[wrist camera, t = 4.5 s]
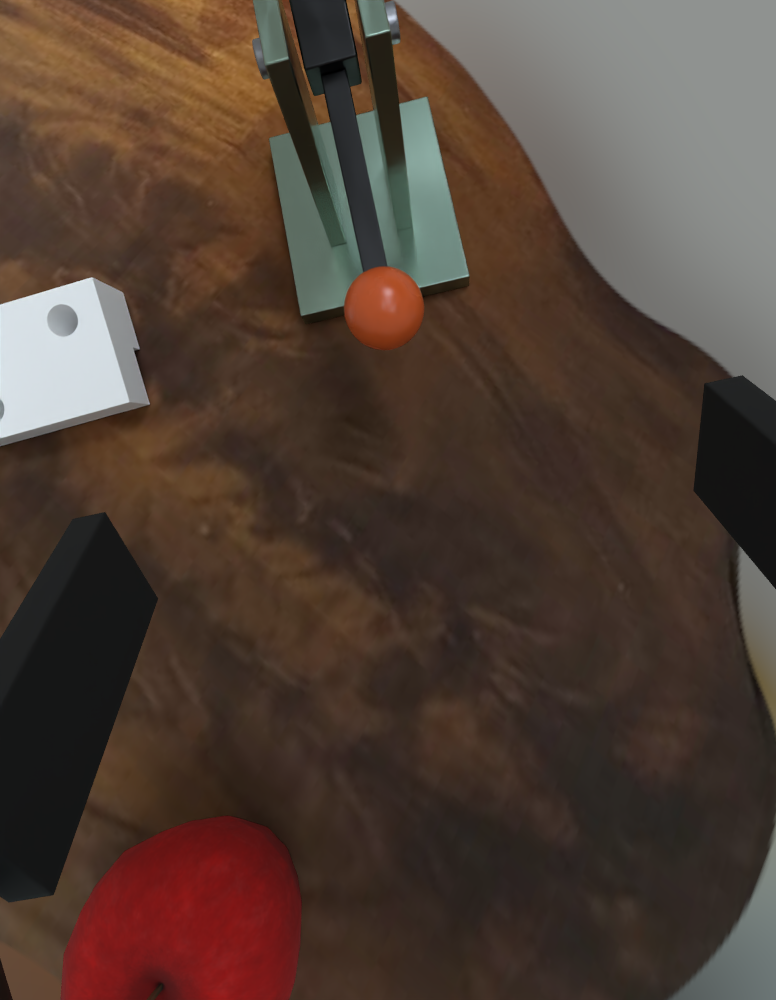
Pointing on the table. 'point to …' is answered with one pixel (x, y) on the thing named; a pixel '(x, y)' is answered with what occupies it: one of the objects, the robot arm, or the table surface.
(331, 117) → the clamp lever
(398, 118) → the clamp
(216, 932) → the apple
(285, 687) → the table surface
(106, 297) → the bracket
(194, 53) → the table surface
